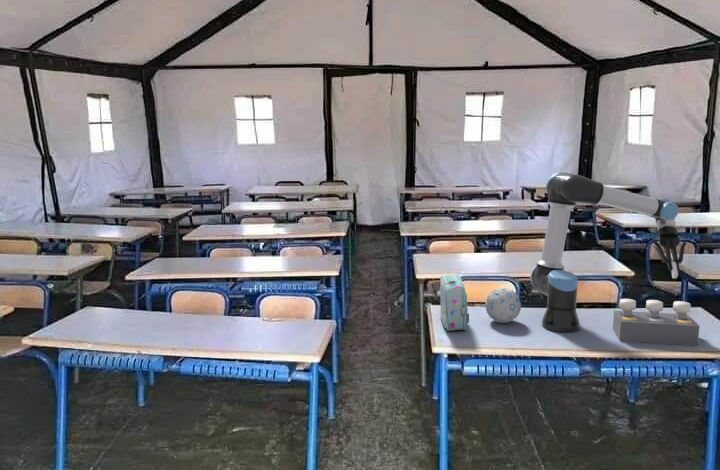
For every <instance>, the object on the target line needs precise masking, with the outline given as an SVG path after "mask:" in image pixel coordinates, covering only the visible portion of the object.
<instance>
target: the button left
mask: <svg viewBox="0 0 720 470" xmlns="http://www.w3.org/2000/svg"><path fill="white" fill-rule="evenodd" d="M636 307H637V301H636V300H635V299H631V298H620V299H619V305H618V308H619V309H621V311H622V316H628V317H632V312H633V311H634V310H636Z"/></svg>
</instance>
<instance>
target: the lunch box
mask: <svg viewBox="0 0 720 470" xmlns="http://www.w3.org/2000/svg"><path fill="white" fill-rule="evenodd" d="M439 279H440V281H439V282H440V283H439V284H440V285H439V287H440V291H439V293H440V294H439V295H440V299H439V300H440V301H439V302H440V311H439V313H440V314H439V315H440V319H441V322H442V325H443V327H444V328H446V329H447V330H446V329H445V330H446V331H448V332H449V331H460V330H461V331H462V330H464V331H465V330H466V331H467V329H468V324H469V322H470V313H468V312H469V311H468V295H467V292H466V287H465V284H464V283H463V280H462V276H461V275H460V274H458V273H457V274H451V275H449V274H448V275H441V277H440V278H439Z"/></svg>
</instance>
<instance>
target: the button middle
mask: <svg viewBox="0 0 720 470" xmlns="http://www.w3.org/2000/svg"><path fill="white" fill-rule="evenodd" d="M663 309H664V302H662V301H660V300H658V299H647V300H646V301H645V310H647V311H648V312H649V318H659V313H661V312H662V311H663Z"/></svg>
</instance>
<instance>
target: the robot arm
mask: <svg viewBox="0 0 720 470" xmlns="http://www.w3.org/2000/svg"><path fill="white" fill-rule="evenodd" d="M545 190H546V193H547V195H548V198H547V203H548V205H549V206H550V208H549V213H548V219H547V224H546V230H545V235H544V243H543V248H542V253H541V258H540V259H539V260H538V261H537V262H536V266H535V267H534V268H533V269H532V271H531V272H530V277H529V280H530V283H531V285H532V287H534V289H535V290H536V291H538V292H539V293H541V294H542V295H544V296H546V297H547V298H546V299H547V303H546V309H545V312H544V313H543V317H542V320H541V326H542V327H543V328H544V329H546V330H548V331H552V332H556V333H557V332H558V333H572V332H573V333H574V332H577V331H579V330H580V326H581V325H580V320H579V317H578V313H577V298H578V297H577V295H578V285H579V282H578V277H577V275H576V274H574V273H573V272H571V271H567V270H565V265H564V264H563V263H562V260H563V255H564V249H565V243H566V238H567V232H568V227H569V222H570V216H571V211H572V209H573V208H575V207H576V205H577V203H578V204H579V203H580V204H588V205H592V206H596V205H598V204H600V205H604V206H608V207H612V208H615V209H619V210H624V211H627V212H628V211H629V212H633V213H637V214H641V215H644V216H647V217H650V218H653V219H654V220H655V224H656V231H657V236H658V237H657V238H658V240H657V241H654V242H653V243H652V247H654V248H655V250H656V252H657V254H658V256H659V259H660V260H661V263H663V264H666V266H667V269H668V271H670V272H671V277H672V279H677V278H678V277H679V270H680V264H681V265H682V262H683V261H684V255H685V254H684V253H685V248H686V245H687V242H685V241H684V242H682V241H681V240H680V238H679V234H678V229H677V223H676V218H677V217H678V214H679V207H678V205H677V204H676V203H675V202H672V201H671V200H670V198H669V199H668V198H666V197H664V198H663V197H661V198H654V197H650V196H646V195H643V194H639V193H635V192H630V191H626V190H622V189H618V188H614V187H610V186H606V185H604V184H603V183H602V182H600V181H596V180H593V179H590V178H588V177H585V176H582V175H580V174H573V173H570V172H557V173H554V174H552V175H551V176H550V177H549V178H548V180H547V182H546V183H545ZM678 246H679V253H678V252H677V248H678Z"/></svg>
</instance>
